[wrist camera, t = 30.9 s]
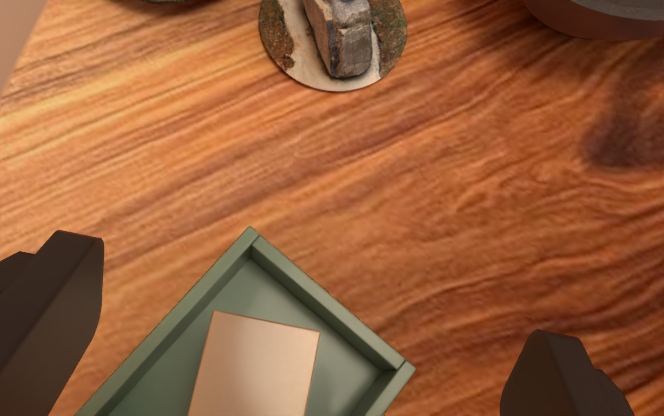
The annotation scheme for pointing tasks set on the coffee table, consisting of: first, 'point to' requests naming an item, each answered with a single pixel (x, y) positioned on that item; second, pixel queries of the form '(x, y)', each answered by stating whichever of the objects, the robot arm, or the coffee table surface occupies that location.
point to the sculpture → (334, 40)
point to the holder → (268, 304)
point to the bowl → (601, 18)
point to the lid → (164, 1)
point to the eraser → (254, 368)
